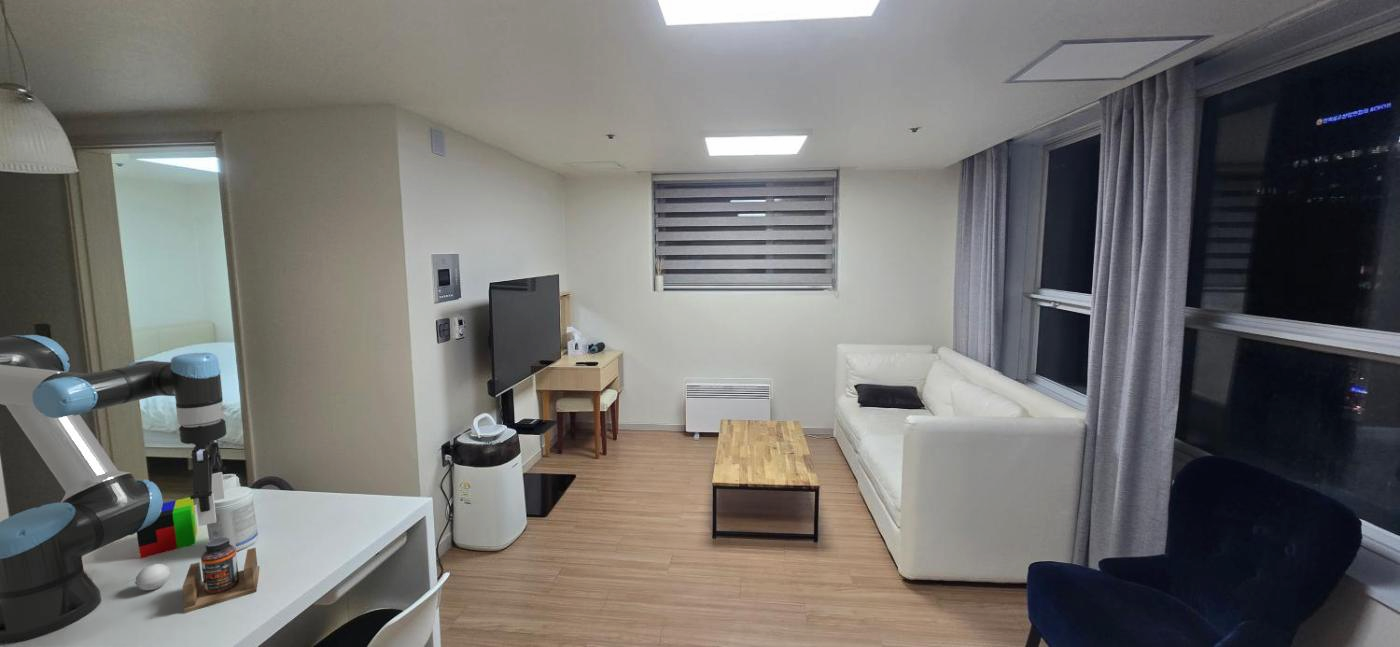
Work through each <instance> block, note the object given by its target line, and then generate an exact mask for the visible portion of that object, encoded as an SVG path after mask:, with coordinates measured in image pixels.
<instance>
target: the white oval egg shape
mask: <svg viewBox="0 0 1400 647" xmlns="http://www.w3.org/2000/svg"><path fill="white" fill-rule="evenodd" d="M170 576H171V570H170V567H169V566H167V565H166V564H162V563H154V564H151V565H148V566H146V567H144V568H142V569H141V570H140V571H139V572H138V574H137V576H136V577H135V579H132V580H131V582H132V581H135V582H134V583H135V585H136V587H137V588H139V589H140V590H143V591H152V590H153V591H154V590H156V589H159V588H160V587H162V586H164V585H165V584H166V583H167V582H168V581H169V579H170ZM127 582H130V581H128V580H127ZM125 583H126V582H123V584H125Z"/></svg>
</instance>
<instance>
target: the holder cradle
mask: <svg viewBox="0 0 1400 647" xmlns="http://www.w3.org/2000/svg"><path fill="white" fill-rule="evenodd" d="M200 563H201V562H200V561H199V562H195V563H194V562H193V563H190V565H189V568H188V571H187V573H186V576H185V578H184V581H183V585H182V591H183V598H184V600H183V601H184V608H183V613H184V614H185V613H190V612H192V611H193V612H194V611H196V610H199V609H203V608H206V607H210V606H213V605H216V604H220V603H223V602H226V601H230V600H233V599H235V598H236V599H237V598H239V597H240V598H241V597H242V596H243V597H244V596H247V595H251V594H253V593H256V592H257V590H258V584H259V583H258V582H259V577H260V576H259V575H260V570H261V569H260V565H258V557H257V549H256V547H252V548H249V549H247V550H246V556H245V561H244V564H243V565H244V567H243V570H238V575H239V581H238V583H237V584H236V585H235V586H233V587H232V588H230V589H228V590H225V591H223V592H219V593H207V592H205V588H204V581H203V580H202V579H203V576H202V571H201V570H202V568H201V564H200Z"/></svg>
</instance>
